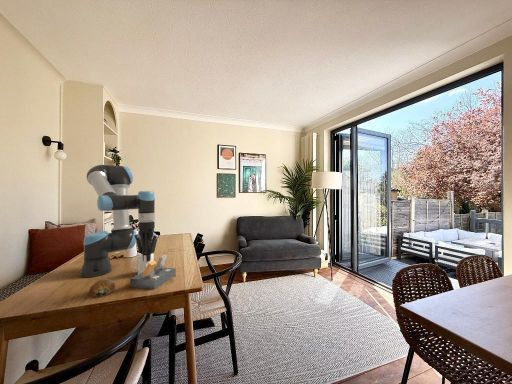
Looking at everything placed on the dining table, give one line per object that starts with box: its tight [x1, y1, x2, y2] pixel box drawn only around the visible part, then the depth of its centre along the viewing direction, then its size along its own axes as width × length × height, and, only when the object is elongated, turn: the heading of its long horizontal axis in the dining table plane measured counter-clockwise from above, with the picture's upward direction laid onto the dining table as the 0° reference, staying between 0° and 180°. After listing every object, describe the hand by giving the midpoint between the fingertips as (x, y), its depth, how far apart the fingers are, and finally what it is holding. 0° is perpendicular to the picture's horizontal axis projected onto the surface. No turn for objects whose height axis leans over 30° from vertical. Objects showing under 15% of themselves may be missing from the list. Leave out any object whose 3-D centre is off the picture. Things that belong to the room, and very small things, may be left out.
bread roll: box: [89, 278, 116, 298], centre depth 106 cm, size 10×10×8 cm
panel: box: [129, 253, 177, 290], centre depth 119 cm, size 14×18×12 cm
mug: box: [130, 252, 154, 275], centre depth 130 cm, size 12×8×12 cm
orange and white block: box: [141, 260, 158, 278], centre depth 114 cm, size 2×5×8 cm
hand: (146, 267), depth 114 cm, fingers closed
